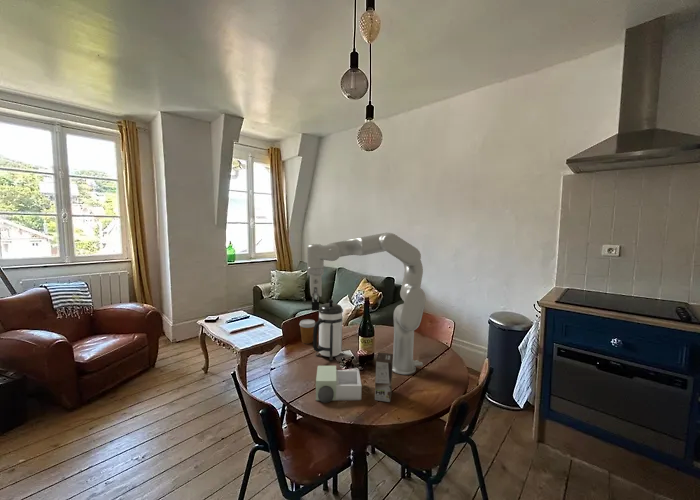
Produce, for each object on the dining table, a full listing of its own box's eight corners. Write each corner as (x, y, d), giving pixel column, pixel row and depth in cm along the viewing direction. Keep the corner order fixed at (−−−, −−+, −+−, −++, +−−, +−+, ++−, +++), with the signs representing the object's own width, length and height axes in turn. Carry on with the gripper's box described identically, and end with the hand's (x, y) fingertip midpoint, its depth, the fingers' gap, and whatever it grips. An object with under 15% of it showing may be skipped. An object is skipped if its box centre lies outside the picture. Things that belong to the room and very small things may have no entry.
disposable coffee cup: (314, 345, 176) (314, 324, 175) (297, 344, 176) (298, 324, 175) (316, 338, 186) (316, 319, 185) (300, 338, 186) (300, 318, 185)
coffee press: (314, 349, 170) (315, 296, 167) (343, 349, 171) (344, 296, 168) (312, 363, 153) (313, 304, 150) (344, 363, 154) (346, 304, 151)
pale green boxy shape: (358, 381, 137) (358, 364, 136) (361, 402, 121) (362, 383, 120) (317, 381, 136) (317, 364, 135) (315, 402, 120) (315, 383, 119)
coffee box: (390, 402, 121) (392, 363, 120) (374, 400, 122) (375, 361, 121) (392, 390, 130) (393, 353, 129) (376, 388, 131) (378, 351, 130)
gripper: (324, 274, 134) (324, 312, 135) (322, 268, 151) (322, 302, 152) (307, 274, 133) (307, 313, 134) (307, 268, 150) (306, 302, 151)
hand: (315, 307), depth 143 cm, fingers open, 9 cm apart
